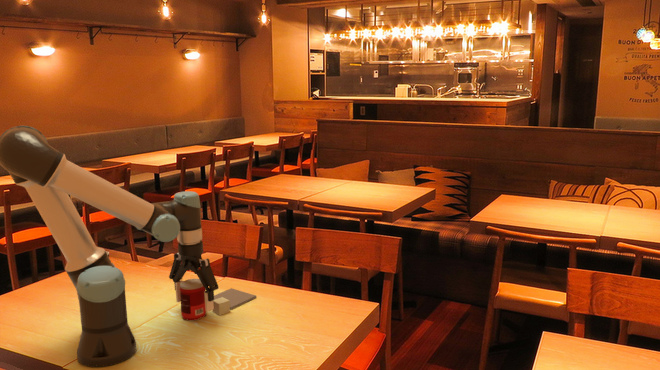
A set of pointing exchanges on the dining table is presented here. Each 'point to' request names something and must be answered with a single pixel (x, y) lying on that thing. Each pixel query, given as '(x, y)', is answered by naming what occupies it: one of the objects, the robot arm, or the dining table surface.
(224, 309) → the beige block
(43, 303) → the dining table surface
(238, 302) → the slate coaster
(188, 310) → the canned food
